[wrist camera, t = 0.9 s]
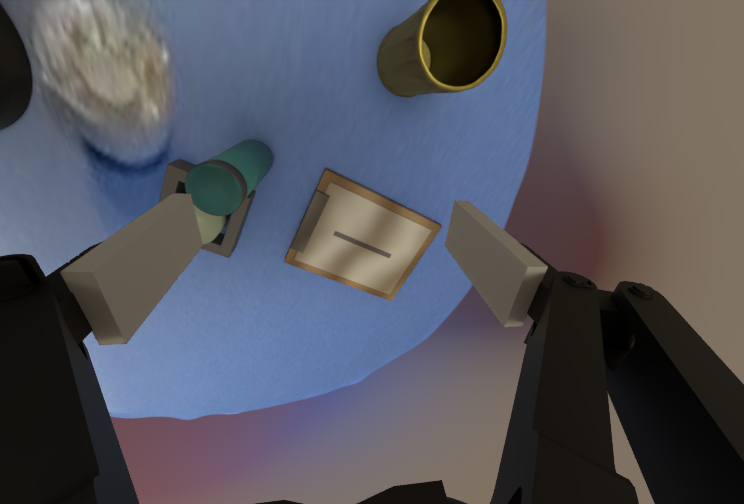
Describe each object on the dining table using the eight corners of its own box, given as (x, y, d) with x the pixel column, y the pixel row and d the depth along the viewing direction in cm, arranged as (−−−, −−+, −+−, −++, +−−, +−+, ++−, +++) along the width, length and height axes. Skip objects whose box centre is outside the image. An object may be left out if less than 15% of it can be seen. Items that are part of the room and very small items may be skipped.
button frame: (164, 222, 34) (152, 231, 31) (179, 158, 31) (167, 164, 28) (235, 247, 36) (228, 257, 34) (255, 191, 33) (250, 198, 31)
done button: (173, 222, 32) (160, 233, 30) (183, 182, 30) (170, 190, 28) (221, 240, 34) (212, 251, 31) (233, 202, 32) (225, 211, 29)
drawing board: (284, 258, 38) (283, 264, 36) (325, 167, 33) (325, 170, 31) (390, 297, 43) (392, 303, 41) (439, 223, 38) (443, 228, 36)
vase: (438, 92, 30) (510, 92, 18) (380, 101, 30) (413, 108, 18) (436, 18, 27) (522, -43, 15) (372, 28, 27) (405, -25, 15)
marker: (235, 162, 31) (179, 202, 20) (245, 129, 30) (191, 153, 19) (269, 178, 33) (234, 223, 21) (280, 147, 31) (249, 178, 20)
